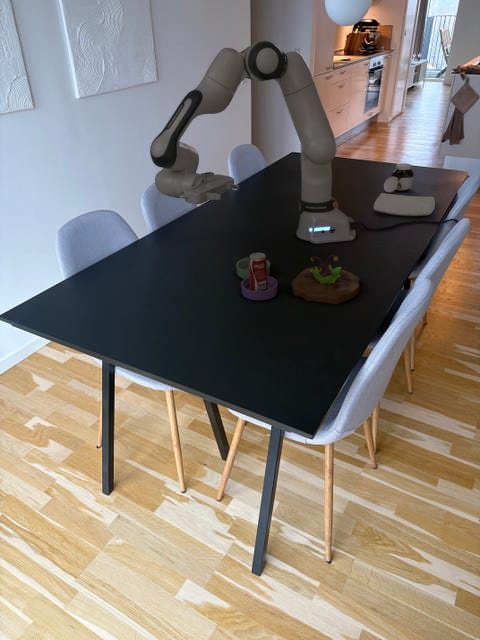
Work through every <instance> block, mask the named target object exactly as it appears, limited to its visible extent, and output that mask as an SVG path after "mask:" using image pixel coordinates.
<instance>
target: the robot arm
mask: <svg viewBox="0 0 480 640" xmlns="http://www.w3.org/2000/svg"><path fill="white" fill-rule="evenodd" d="M202 77H203V78H202V79H201V80H200V82H199V84H198V85H197V86H196V87H195V88H194V89H193V90H190V91H189V92H188V93H187V94H186V95H185V96H184V97H183V99H182V100H181V101H180V103H179V105H178V106H177V107H176V109H175V111H174V112H173V114H172V115H171V117H170V118H169V120H168V121H167V122H166V124H165V126H164V128H162V130H161V132H159V134H158V135H156V137H154V139H153V140H152V142H151V143H150V147H149V154H150V159H151V161H152V163H153V164H154V166H156V167H157V168H162V169H161V170H159V171H157V172H156V174H155V176H154V185H155V188H156V189H157V190H158V192H159V193H160V194H162V195H164V196H166V197H169V198H170V197H171V198H176V199H182V200H183V199H184V201H185V202H186V203H190V204H193V205H202V204H204V203H206V202H208V201H215V200H216V201H220V200H222V199H223V194H225V193H228V192H229V191H232V192H235V193H237V192H238V191H240V185H238V184H235V178H234V177H232V176H229V175H224V174H216V173H215V172H213V171H208V172H201V173H198V172H197V171H198V167H199V163H200V155H199V152H198V150H197V149H196V148H195V147H193V146H191V145H189V144H187V143H185V142H182V141H180V140H181V139H182V137H183V136H184V134H185V133H186V131H187V129H188V128H189V127H190V125H191V124H192V122H193V121H194V120H195V119H196V118H197V117H199V116H203V115H215V114H216V115H217V114H220V113H222V112H224V111H225V110H226V109H227V108H228V107H229V105H230V104H231V102H232V100H233V99H234V96H235V94H236V93H237V91H238V88H239V86H240V85H241V84H242V82H243V81H245V79H248V80H251V81H256V82H265V81H271V80H274V81H275V82H276V84H277V85H278V87H279V89H280V92H281V96H282V98H283V101H284V103H285V106H286V109H287V112H288V114H289V116H290V119H291V122H292V124H293V127H294V129H295V133H296V135H297V137H298V140H299V142H300V174H301V176H300V178H301V183H300V198H299V206H298V210H299V211H298V212H299V218H298V219H299V220H298V225H297V228H296V232H295V236H296V237H297V238H298V239H301V240H304V241H308V242H310V243H311V244H317V245H318V244H327V243H328V244H329V243H338V242H350V241H354V240H355V239H356V225H358V226H362V227H363V228H364V229H366V230H368V231H382V230H383V231H384V230H390V229H393V228H396V227H399V226H402V225H407V224H417V223H419V224H421V223H425V224H446V223H450V222H455V223H459V220H458V219H456V218H450V219H446V220H443V221H432V220H409V221H404V222H403V221H402V222H398V223H396V224H393V225H390V226H385V227H377V228H376V227H375V228H373V227H368V226H366V225H365V224H364V223H362V222H357V221H355V220H354V219H353V218H352V217H351V216H347V215H346V213H344V212H343V211H341V210H340V209H338V208H339V206H340V205H339V202H338V201H337V199H336V198H335V197H334V196H333V197H332V191H333V190H332V188H333V169H332V161H333V160H334V158H335V156H336V154H337V151H338V145H337V144H338V143H337V140H336V137H335V134H334V132H333V128H332V126H331V124H330V121H329V118H328V116H327V113H326V111H325V109H324V106H323V103H322V100H321V98H320V94H319V91H318V88H317V86H316V82H315V80H314V77H313V73H312V72H311V70H310V67H309V65H308V63H307V61H306V59H305V58H304V56H303V55H302V53H300V52H299V51H294V50H291V51H287V52H284V51H283V50H282V49H280V47H279V46H278V45H276V44H275V43H274V42H271V41H267V40H263V41H262V40H261V41H256V42H253V43H252V44H251V45H249V46H247V47H246V48H245V49H243V50H242V51H238V50H236V49H234V48H232V47H224V48H222V49H220V50H219V51H218V53H217V54H216V55H215V57H214V58H213V60H212V61H211V63H210V64H209V66H208V68H207V70H206V71H205V74H204V75H203V76H202Z"/></svg>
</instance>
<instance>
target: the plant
mask: <svg viewBox="0 0 480 640" xmlns="http://www.w3.org/2000/svg"><path fill="white" fill-rule="evenodd" d="M331 259H332V260H333V261H334V262H339V257H338V256H337V255H335V254H331V255H329V256H328V257H327V259H326V261H325V262H324V261H323V260H322V258H321V257H319V256H317V255H316V256H312V257H310V261H311V262H315V260H318V261H319V263H320V265H319V266H311V267H307V268H304V269H303V270H302V271H301V272H300V273H299V274H298V275H297V276H296V277H295V278H294V279H293V280H292V281H291V292H292V294H293V296H295V297H301V298H302V299H304V300H305V301H308V302H317V303H323V304H329V305H339V304H341V303H343V302H347V301H350V300H351V299H353V298H354V297H356V295H358V294H359V292H360V285H361V279H362V278H361V277H360V276H358V275H356V274H354V273H352V272H350V271H347V270H343V269H342V268H343V267H342V266H338V267H335V268H334V267H332V265H331V264H330V260H331Z"/></svg>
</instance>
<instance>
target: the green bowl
mask: <svg viewBox="0 0 480 640" xmlns="http://www.w3.org/2000/svg"><path fill="white" fill-rule="evenodd" d="M249 259H250V257H245V258H242V259H240V260H238V261H237V262H236V265H235V268H236V275H237V276H238V277H239V278H241V279H242V280H244V279H245V278H247V277H250V272H249ZM270 273H271V262H270V261H269V260H268V259H267V276H270Z"/></svg>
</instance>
